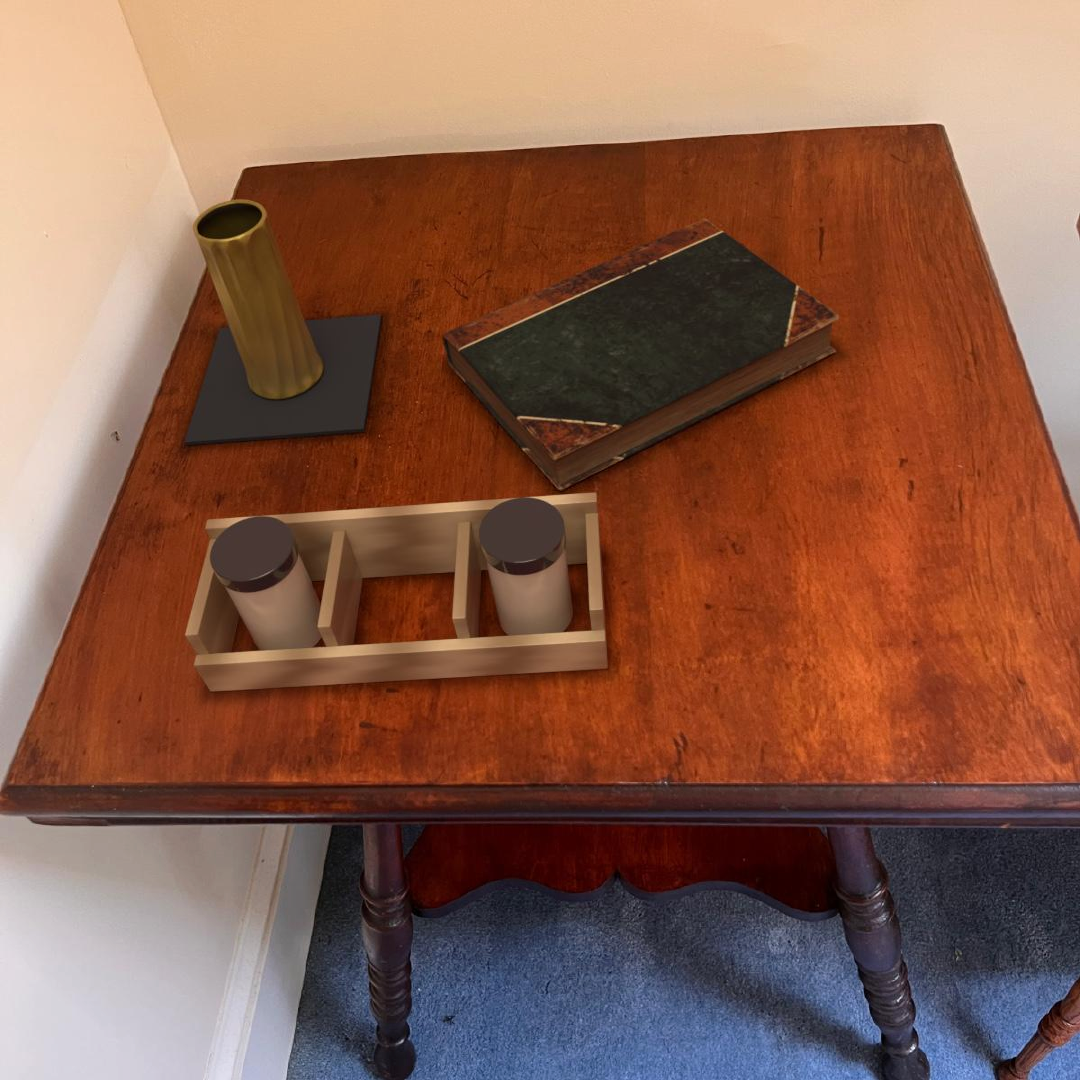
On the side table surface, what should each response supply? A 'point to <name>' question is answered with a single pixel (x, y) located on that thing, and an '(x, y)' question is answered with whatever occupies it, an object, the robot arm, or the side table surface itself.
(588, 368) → the book
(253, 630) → the spice jar left
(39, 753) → the side table surface
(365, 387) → the mat
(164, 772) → the side table surface
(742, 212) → the side table surface
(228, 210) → the vase
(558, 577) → the spice jar right
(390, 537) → the rack
